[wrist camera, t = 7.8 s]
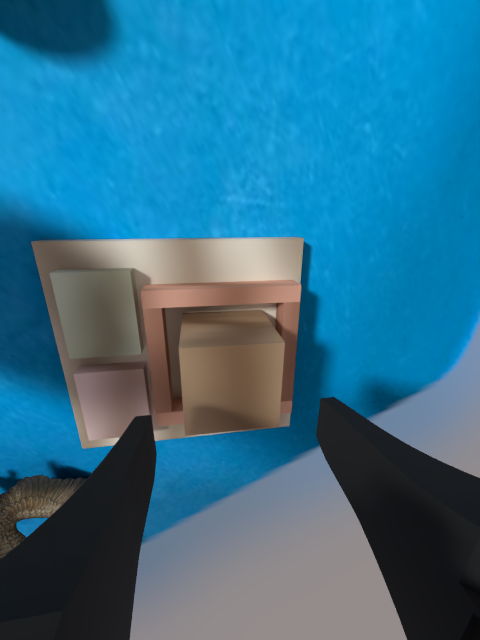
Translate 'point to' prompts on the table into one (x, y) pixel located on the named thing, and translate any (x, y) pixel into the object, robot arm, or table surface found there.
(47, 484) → the eagle figurine
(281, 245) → the puzzle board
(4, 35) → the table surface
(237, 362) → the walnut block
